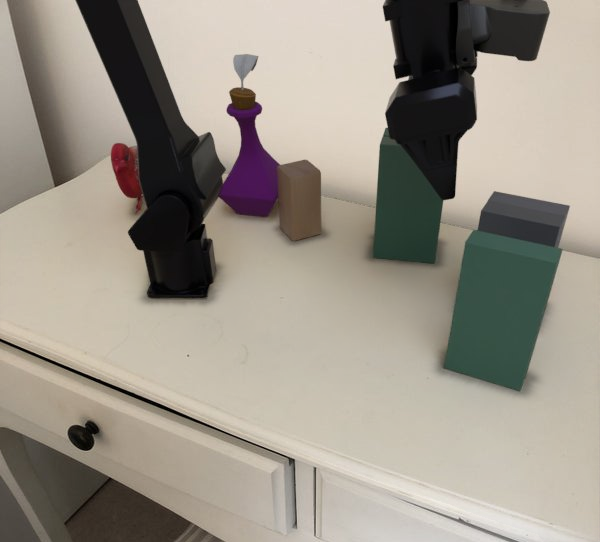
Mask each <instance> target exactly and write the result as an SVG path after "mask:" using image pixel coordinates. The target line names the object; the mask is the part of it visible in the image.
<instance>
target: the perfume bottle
mask: <svg viewBox="0 0 600 542" xmlns="http://www.w3.org/2000/svg"><path fill="white" fill-rule="evenodd" d="M258 59H259V55H255V54H250V53H243V54H234V56H233V58H232V63H233V68H234V72H235V73H236V75H237V76H238V78H239V80H240V87H233V88H231V89H230V90H229V91H228V94H229V96H230V100H231V102H230V103H229V104H228V105H227V107H226V110H225V111H226V113H227V115H228V116H230V117H233V118H234V119H235V121H236V122H237V125H238V127H239V132H240V133H239V134H240V148H239V151H238V156H237V158H236V159H235V161H234V164H233V166H232V167H231V170H230V171H229V173H228V175H227V176H226V178H225V179H224V180H223V188H222V191H221V193H220V195H219V197H218V198H220V200H221V201H223V202H224V203H225V204H226V205H227V206H228V207H229V208H230V209H231V210H232V211H233V212H234V213H235V214H237V215H243V216H254V217H262V218H263V217H264V218H265V217H266V218H267V217H269V215H270V213H271V212H272V211H273V208H274V207H275V205H276V203H277V202H278V201H279V198H278V178H277V166H279V165H281V164H280V163H279V162H278V161H277V160H276V159H275V158H274V157H273V156H272V155H271V154H270V153H269V152H268V151H267V150H266V149H265V147H264V146H263V144H262V143H261V140H260V137H259V133H258V131H257V128H256V127H257V126H256V120H257V117H258V116H259V115H261V114H262V111H263V106H262V105H261V104H260V103H259V102H258V101H256V97H257V94H256V92H255V91H254V90H252V89H251V88H247V87H244V81H245V79H246V77H247V76H248V75H249V74H250V72H253V71H254V70H255V68H256V67H257V64H258Z"/></svg>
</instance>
